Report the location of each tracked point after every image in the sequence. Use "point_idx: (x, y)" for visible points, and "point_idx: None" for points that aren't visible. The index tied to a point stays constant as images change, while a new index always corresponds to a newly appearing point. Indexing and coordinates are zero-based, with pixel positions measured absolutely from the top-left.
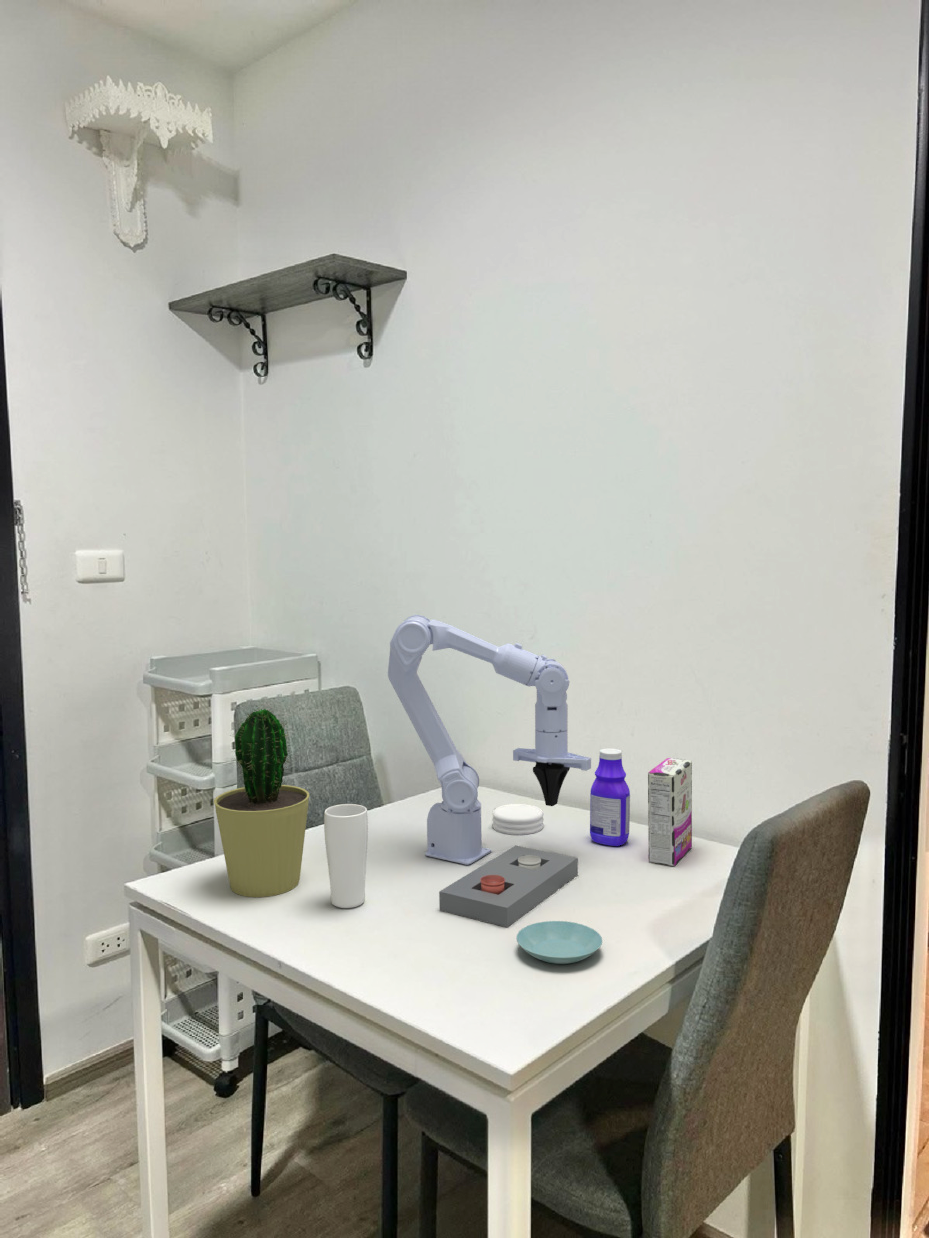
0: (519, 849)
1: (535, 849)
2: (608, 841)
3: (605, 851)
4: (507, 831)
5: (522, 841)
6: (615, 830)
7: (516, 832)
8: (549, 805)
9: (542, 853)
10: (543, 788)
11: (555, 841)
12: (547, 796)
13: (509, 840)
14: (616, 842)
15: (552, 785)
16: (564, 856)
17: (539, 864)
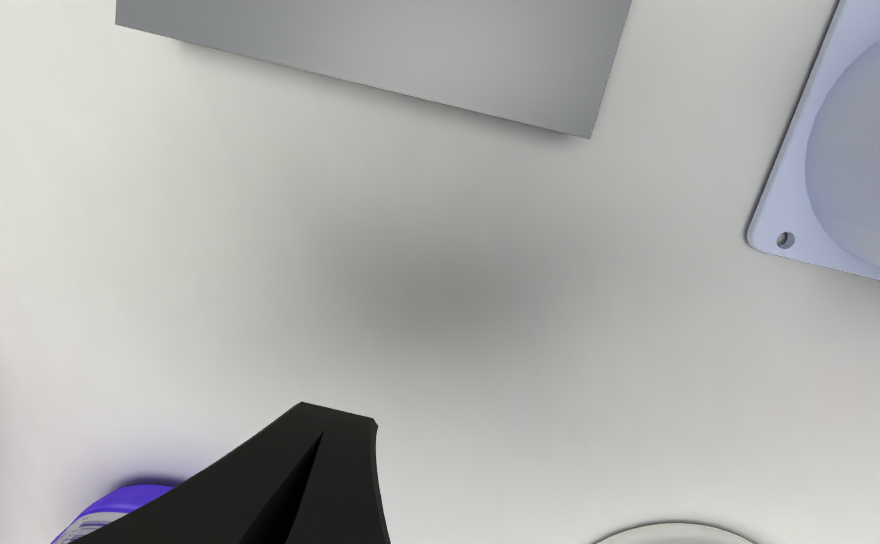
0: (543, 60)
1: (433, 96)
2: (152, 492)
3: (162, 416)
4: (706, 533)
5: (600, 446)
6: (75, 534)
7: (655, 531)
8: (329, 410)
9: (365, 29)
10: (346, 531)
11: (433, 484)
12: (316, 456)
13: (672, 443)
14: (114, 491)
15: (122, 540)
16: (205, 20)
17: None
